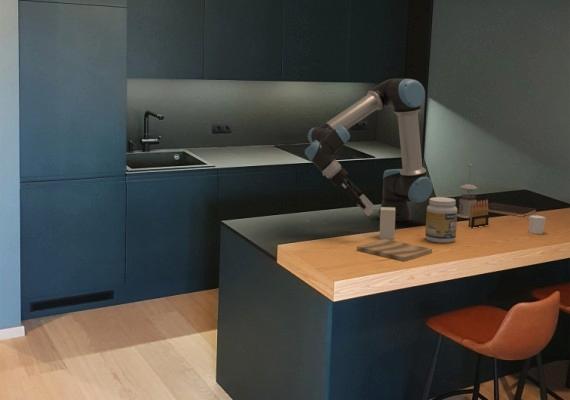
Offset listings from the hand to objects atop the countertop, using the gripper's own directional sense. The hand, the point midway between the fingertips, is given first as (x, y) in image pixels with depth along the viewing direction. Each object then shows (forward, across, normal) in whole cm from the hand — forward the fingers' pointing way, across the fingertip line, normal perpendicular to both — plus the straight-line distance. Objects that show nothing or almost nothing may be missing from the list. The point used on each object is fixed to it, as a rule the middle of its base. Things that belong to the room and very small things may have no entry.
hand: (370, 210), depth 293 cm
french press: (+40, -52, +24) cm, 70 cm away
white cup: (+58, -21, +42) cm, 74 cm away
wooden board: (+15, +22, -1) cm, 27 cm away
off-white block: (+13, -1, -3) cm, 13 cm away
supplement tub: (+28, 0, +12) cm, 31 cm away
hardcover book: (+55, -66, +38) cm, 94 cm away
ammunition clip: (+41, -28, +26) cm, 56 cm away
